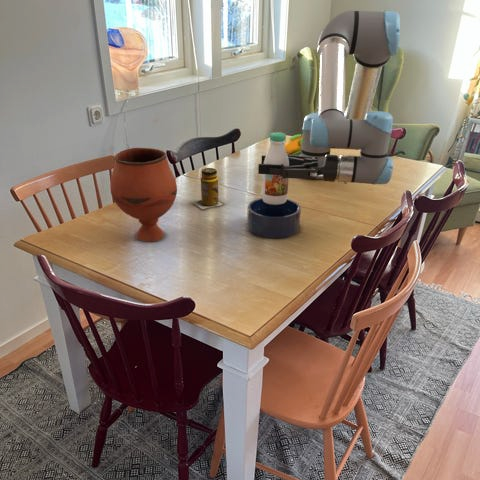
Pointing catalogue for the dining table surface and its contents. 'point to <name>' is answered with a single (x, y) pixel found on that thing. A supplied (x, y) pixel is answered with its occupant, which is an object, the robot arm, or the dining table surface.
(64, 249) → the dining table surface
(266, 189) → the milk bottle
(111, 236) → the dining table surface
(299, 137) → the corn
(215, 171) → the condiment
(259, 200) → the pot
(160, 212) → the goblet
